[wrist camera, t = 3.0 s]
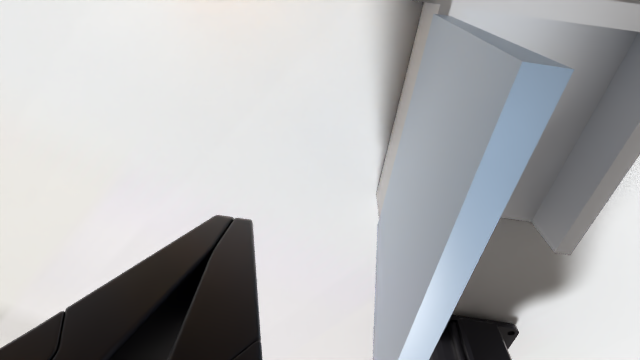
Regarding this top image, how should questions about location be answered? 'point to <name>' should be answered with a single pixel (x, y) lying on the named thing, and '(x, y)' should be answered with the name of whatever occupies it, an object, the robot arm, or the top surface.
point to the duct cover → (454, 176)
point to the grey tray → (558, 105)
